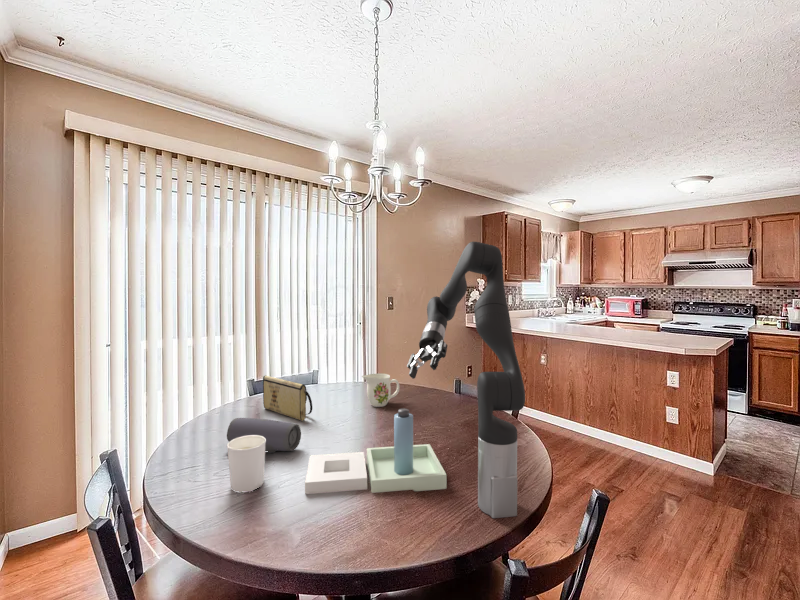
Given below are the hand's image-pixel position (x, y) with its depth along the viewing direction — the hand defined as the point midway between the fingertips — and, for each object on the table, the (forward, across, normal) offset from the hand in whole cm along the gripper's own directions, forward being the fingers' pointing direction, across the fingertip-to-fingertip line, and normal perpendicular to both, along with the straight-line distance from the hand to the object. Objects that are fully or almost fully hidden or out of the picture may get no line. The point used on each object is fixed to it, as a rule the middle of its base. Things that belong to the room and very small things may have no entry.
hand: (422, 372), depth 117 cm
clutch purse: (-6, -76, -3) cm, 76 cm away
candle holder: (+39, -40, -15) cm, 57 cm away
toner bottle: (+22, -12, +13) cm, 28 cm away
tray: (+22, -12, +14) cm, 29 cm away
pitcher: (-26, -54, +26) cm, 65 cm away
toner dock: (+30, -24, +1) cm, 38 cm away
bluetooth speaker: (+22, -54, -11) cm, 60 cm away
